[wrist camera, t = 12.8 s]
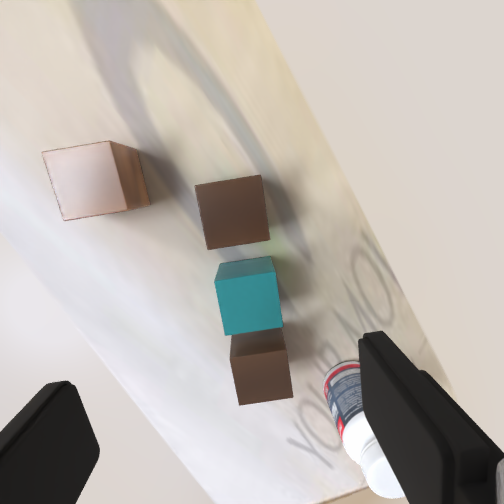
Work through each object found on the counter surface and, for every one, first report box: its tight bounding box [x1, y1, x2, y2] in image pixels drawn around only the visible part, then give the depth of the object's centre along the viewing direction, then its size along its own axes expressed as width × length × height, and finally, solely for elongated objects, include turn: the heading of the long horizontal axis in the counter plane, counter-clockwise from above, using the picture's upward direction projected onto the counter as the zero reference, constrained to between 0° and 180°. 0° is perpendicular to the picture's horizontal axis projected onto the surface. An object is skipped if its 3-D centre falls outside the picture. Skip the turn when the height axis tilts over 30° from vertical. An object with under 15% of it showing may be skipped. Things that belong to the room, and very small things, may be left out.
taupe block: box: [195, 175, 270, 250], centre depth 21 cm, size 4×4×4 cm
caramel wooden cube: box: [42, 141, 150, 221], centre depth 20 cm, size 4×4×4 cm
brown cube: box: [230, 327, 293, 405], centre depth 24 cm, size 4×4×4 cm
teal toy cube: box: [214, 256, 283, 336], centre depth 22 cm, size 4×4×4 cm
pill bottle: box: [323, 361, 405, 498], centre depth 23 cm, size 5×5×9 cm
